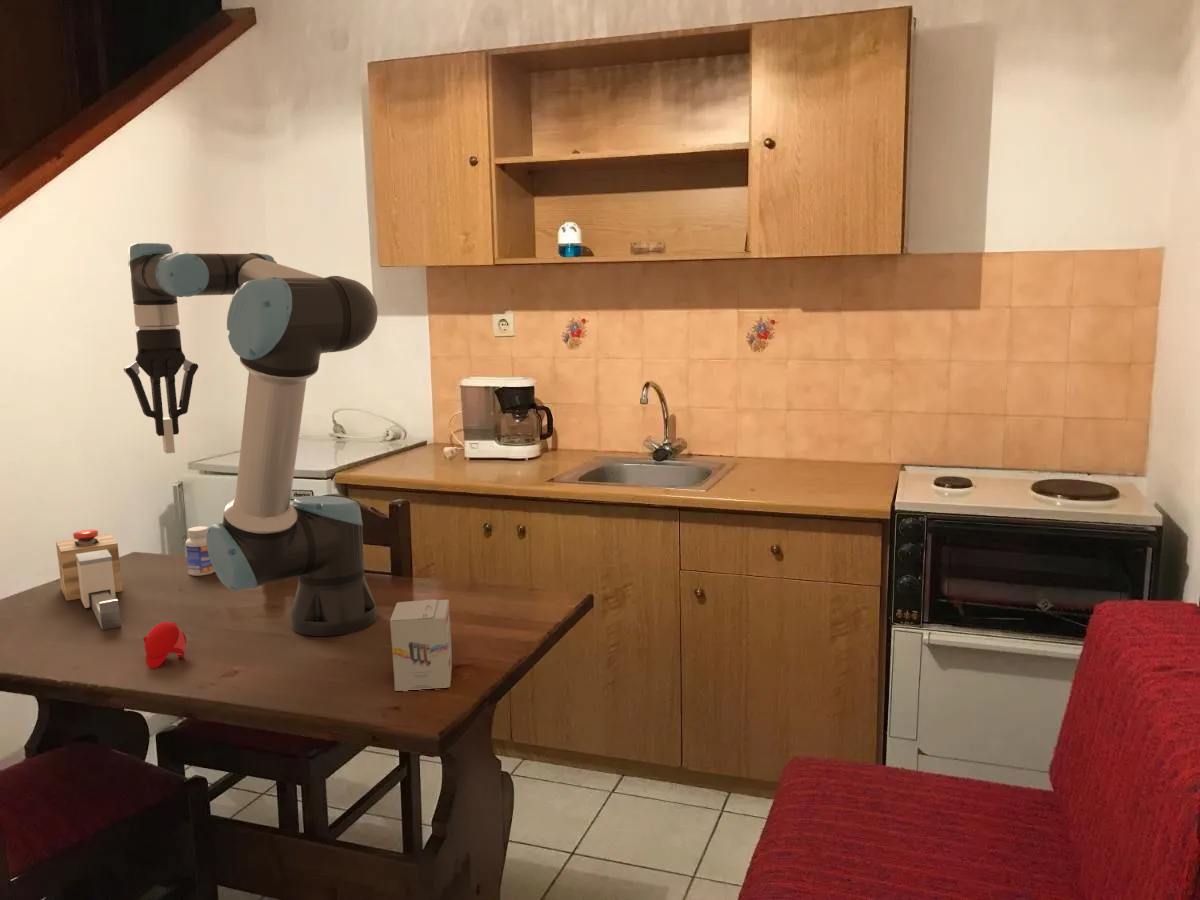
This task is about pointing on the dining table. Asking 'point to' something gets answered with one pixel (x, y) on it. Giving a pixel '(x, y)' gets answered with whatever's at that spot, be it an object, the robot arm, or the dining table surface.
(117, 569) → the wooden red button box
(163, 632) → the cap
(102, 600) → the rail
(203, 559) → the pill bottle
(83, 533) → the red push button
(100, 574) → the block
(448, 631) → the ink box
